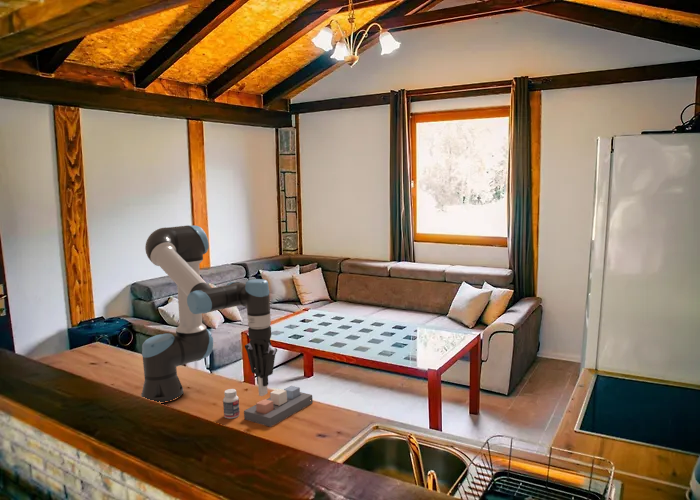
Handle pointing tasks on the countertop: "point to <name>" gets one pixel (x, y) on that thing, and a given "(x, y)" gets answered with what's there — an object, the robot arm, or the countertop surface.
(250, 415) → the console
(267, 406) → the terracotta key
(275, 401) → the white key
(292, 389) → the slate key
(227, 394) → the pill bottle
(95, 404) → the countertop surface
